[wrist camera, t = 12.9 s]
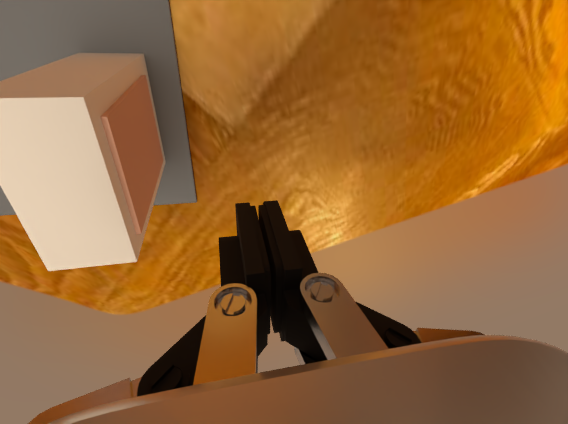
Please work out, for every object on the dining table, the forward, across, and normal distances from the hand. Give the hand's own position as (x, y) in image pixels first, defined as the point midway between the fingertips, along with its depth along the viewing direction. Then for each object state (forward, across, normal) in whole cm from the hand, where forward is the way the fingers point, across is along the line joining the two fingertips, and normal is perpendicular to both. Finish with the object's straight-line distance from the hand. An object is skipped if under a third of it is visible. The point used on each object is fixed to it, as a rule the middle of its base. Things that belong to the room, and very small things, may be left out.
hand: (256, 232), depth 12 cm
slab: (+15, +8, -1) cm, 17 cm away
